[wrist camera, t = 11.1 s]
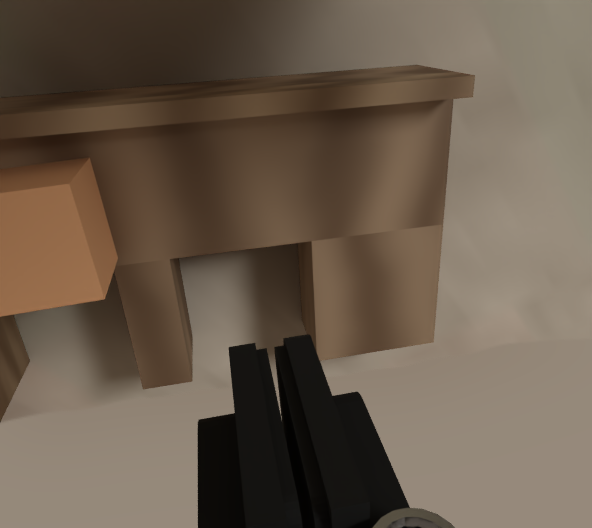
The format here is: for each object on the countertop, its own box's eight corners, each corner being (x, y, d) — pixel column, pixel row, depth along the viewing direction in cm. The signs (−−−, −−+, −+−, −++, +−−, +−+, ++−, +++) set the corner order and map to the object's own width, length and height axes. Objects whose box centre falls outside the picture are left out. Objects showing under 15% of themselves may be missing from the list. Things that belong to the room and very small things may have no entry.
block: (89, 157, 24) (69, 183, 20) (118, 258, 27) (104, 299, 23) (-64, 177, 23) (-117, 209, 19) (-20, 279, 26) (-59, 326, 22)
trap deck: (417, 64, 30) (480, 76, 23) (405, 304, 38) (450, 364, 31) (-85, 104, 26) (-180, 131, 20) (14, 363, 34) (-30, 446, 27)
